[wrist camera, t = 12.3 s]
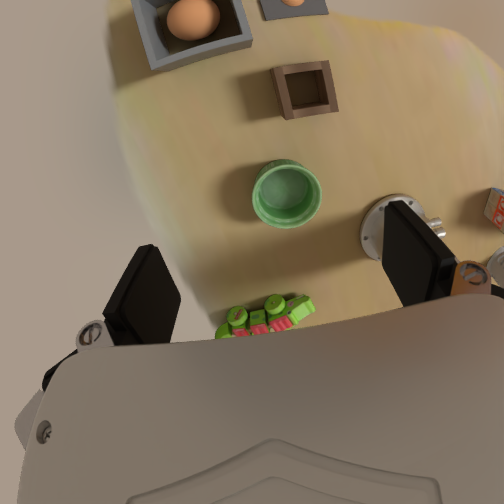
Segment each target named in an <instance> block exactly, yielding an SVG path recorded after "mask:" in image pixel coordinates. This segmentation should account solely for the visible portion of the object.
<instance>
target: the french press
mask: <svg viewBox="0 0 504 504" xmlns="http://www.w3.org/2000/svg"><path fill="white" fill-rule="evenodd" d="M486 269H487V270H488V271H489V273H490V275H491V277H493V278H494V280H495V281H496V282H498V283H497V284H498V285H500V287H501V288H504V246H503V247H501V248H499V249H498V250H497V251H496V252H495V253H494V254H493V256H492V257H491V258H490V260H489V262H488V264H487V267H486Z"/></svg>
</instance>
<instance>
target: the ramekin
mask: <svg viewBox="0 0 504 504" xmlns="http://www.w3.org/2000/svg"><path fill="white" fill-rule="evenodd" d="M321 200H322V191H321V186H320V183H319V181H318V180H317V178H316V177H315V175H314V174H313V173H312V172H310V171H309V170H308V169H306V168H304V167H303V166H302V165H301V164H299V163H297V162H295V161H292V160H285V159H284V160H276V161H273V162H271V163H269V164H267V165H266V166H264V167H263V168H262V169H261V170H260V172H259V173H258V175H257V177H256V179H255V184H254V187H253V191H252V205H253V208H254V211H255V213H256V214H257V216H258V217H259V218H260V219H261V220H262V221H263V222H265V223H266V224H268V225H270V226H273V227H276V228H281V229H290V228H295V227H298V226H301V225H303V224H305V223H306V222H308V221H309V220H310V219H311V218H312V217H313V216H314V215H315V214H316V213H317V211H318V209H319V207H320V204H321Z"/></svg>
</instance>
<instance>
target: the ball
mask: <svg viewBox="0 0 504 504" xmlns="http://www.w3.org/2000/svg"><path fill="white" fill-rule="evenodd" d="M219 21H220V11H219V9H218V7H217V5H216V4H215V3H214V2H213V1H211V0H180V1H178V2H177V3H175V4H174V5H173V6H172V8H171V9H170V11H169V13H168V16H167V25H168V28H169V30H170V31H171V33H172V34H173V35H175V36H176V37H178V38H180V39H183V40H189V41H194V40H199V39H202V38H205V37H207V36H208V35H210V34H211V33H212V32H213V31H214V30H215V29H216V28H217V26H218V24H219Z"/></svg>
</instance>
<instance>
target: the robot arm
mask: <svg viewBox="0 0 504 504" xmlns="http://www.w3.org/2000/svg"><path fill="white" fill-rule="evenodd" d="M439 225H441V219H440V218H439V217H437V218H433V219H431V220H429V219H428V218H427V217H426V216H425V213H424V210H423V208H422V206H421V205H420V204H419V203H418V202H417V201H416V200H415V199H414V198H412V197H410V196H408V195H404V194H396V195H391V196H388V197H386V198H383V199H382V200H380V201H379V202H377V203H376V204H375V205H374V206H373V207H372V208H371V209H370V210H369V211H368V213H367V214H366V216H365V218H364V219H363V222H362V224H361V228H360V242H361V245H362V247H363V249H364V251H365V252H366V254H367V255H368V256H369V257H371V258H372V259H374V260H377V261H382V266H383V269H384V271H385V272H386V274H387V276H388V278H389V280H390V282H391V283H392V285H393V287H394V289H395V291H396V293H397V295H398V297H399V299H400V301H401V303H402V305H403V307H402V308H398V309H394V310H389V311H385V312H381V313H376V314H372V315H367V316H363V317H358V318H353V319H348V320H343V321H338V322H332V323H327V324H321V325H315V326H310V327H304V328H298V329H291V330H285V331H278V332H271V333H264V334H256V335H248V336H240V337H231V338H222V339H212V340H201V341H189V342H176V343H170V340H171V336H172V332H173V329H174V325H175V321H176V317H177V314H178V310H179V306H180V302H181V297H180V293H179V291H178V289H177V287H176V285H175V283H174V281H173V279H172V277H171V275H170V273H169V270H168V268H167V266H166V264H165V262H164V260H163V258H162V255H161V253H160V251H159V249H158V247H154V246H153V245H152V244H149V245H144V246H140V247H139V248H138V249H137V251H136V252H135V254H134V256H133V257H132V259H131V261H130V263H129V264H128V267H127V268H126V270H125V272H124V273H123V275H122V277H121V279H120V281H119V283H118V284H117V286H116V288H115V290H114V292H113V294H112V296H111V297H110V300H109V302H108V303H107V305H106V307H105V309H104V311H103V313H102V314H103V315H104V317H105V321H104V322H103V321H101V320H94V321H92V322H89V323H88V324H86V325H85V326H84V327H83V328H82V329H81V330H80V331H79V333H78V335H77V337H76V346H77V349H76V350H75V351H74V352H72V353H71V354H69V355H68V356H67V357H65V358H64V359H63V360H61V361H60V362H59V363H58V364H56V365H55V366H53V367H52V368H51V369H49V370H48V371H47V372H46V373H45V375H44V379H43V382H42V388H43V391H41V390H39V391H38V392H37V393H36V394H35V395H34V396H33V398H32V399H31V400H30V401H29V403H28V404H27V405H26V406H25V407H24V409H23V410H22V411H21V413H20V414H19V415H18V417H17V418H16V421H15V431H16V434H17V435H18V438H19V440H20V442H21V443H22V445H23V447H24V449H25V451H26V452H25V456H24V460H23V466H22V471H21V476H20V483H19V490H18V498H17V504H504V288H501V287H499V286H496V285H493V284H491V275H490V273H489V271H488V270H487V269H486V268H485V266H483V265H482V264H480V263H478V262H475V261H470V260H468V261H462V262H460V261H459V260H458V259H457V257H456V256H455V255H454V254H453V253H452V251H451V250H450V249H449V248H448V247H447V246H446V245H445V243H444V242H443V241H442V240H441V238H444V237H445V230H444V228H443V227H440V228H436V229H433V230H432V229H431V227H433V226H434V227H435V226H439Z"/></svg>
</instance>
